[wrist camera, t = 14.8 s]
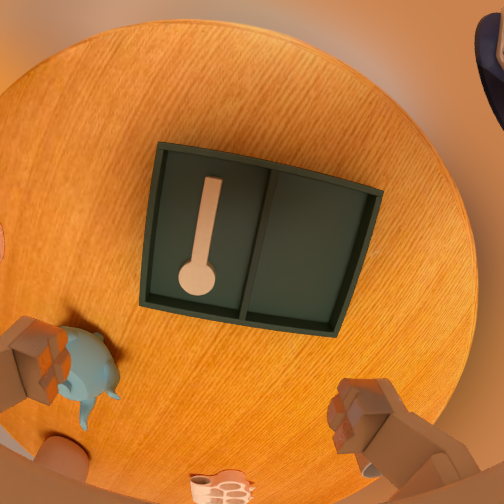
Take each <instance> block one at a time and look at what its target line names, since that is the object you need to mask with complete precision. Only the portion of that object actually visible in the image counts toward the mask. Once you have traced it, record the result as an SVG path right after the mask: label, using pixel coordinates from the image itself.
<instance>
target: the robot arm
mask: <svg viewBox="0 0 504 504" xmlns="http://www.w3.org/2000/svg"><path fill="white" fill-rule="evenodd" d="M496 58H497V60H498V62H499V64H500V66H501V67H502V69H503V71H504V8H501V17H500V27H499V36H498V43H497V50H496ZM68 342H69V341H68V335H67V332H66V331H65V330H64V329H62V328H59V327H56V326H53V325H51V324H48V323H45V322H43V321H40V320H37V319H34V318H31V317H29V316H22V317H21V318H20V319H19V320H18V321H17V322H15V323H14V324H13V325H12V326H11V327H10V328H9V329H8V330H7V331H6V332H5V333H4V334H3V335H2V336H1V337H0V413H1V412H3V411H5V410H7V409H9V408H10V407H12V406H14V405H16V404H17V403H19V402H21V401H23V400H25V399H26V398H27V397H28V398H31V399H33V400H36V401H38V402H41V403H43V404H46V405H48V406H50V405H51V403H52V402H53V400H54V398H55V397H56V395H57V394H58V392H59V390H58V386H57V385H59V384H61V383H64V382H65V381H66V379H67V377H68V375H69V372H70V368H71V355H70V352H69V351H68V350H67V348H66V347H65V346H66V344H67V343H68ZM337 389H338V392H339V394H337V395H336V396H335V397H333V398H332V399H331V401H330V404H329V406H328V411H327V421H328V424H329V427H330V428H331V429H332V430H334V431H335V434H334V436H333V437H332V438H333V441H334V444H335V447H336V451H337V454H347V453H362V454H363V455H364V456H365V457H366V458H367V459H368V460H369V461H370V462H371V463H372V464H373V465H374V466H375V467H376V468H377V469H378V470H379V471H380V472H381V473H382V474H383V475H384V476H385V477H386V478H387V479H388V480H389V481H390V482H391V483H392V484H394V485H395V486H396V487H397V488H398V489H399V490H398V491H397V492H395V493H394V494H393V495H392V496H391V497H390V498H389V500H388V501H387V502H385V503H380V504H504V461H503V462H501V463H499V464H497V465H495V466H493V467H491V468H488V469H486V470H484V471H482V472H481V471H480V469H479V467H478V466H477V464H476V462H475V461H474V459H473V457H472V456H471V454H470V453H469V451H468V449H467V448H466V446H465V445H464V444H462V443H461V442H459V441H457V440H455V439H454V438H452V437H451V436H449V435H448V434H446V433H444V432H443V431H441V430H440V429H438V428H437V427H435V426H433V425H432V424H430V423H429V422H427V421H426V420H424V419H422V418H421V417H419V416H418V415H416V414H415V413H413V412H408V411H407V409H406V407H405V405H404V404H403V402H402V400H401V399H400V397H399V395H398V394H397V392H396V390H395V389H394V387H393V385H392V383H391V382H390V381H389V380H388V379H386V378H380V379H349V378H344V379H343V380H342V381H341V382H340V383H339V385H338V387H337ZM0 504H160V503H155V502H150V501H146V500H142V499H137V498H133V497H130V496H126V495H122V494H119V493H115V492H112V491H108V490H105V489H102V488H99V487H96V486H93V485H90V484H87V483H84V482H82V481H79V480H76V479H73V478H71V477H68V476H66V475H63V474H61V473H59V472H56V471H54V470H52V469H49V468H47V467H45V466H43V465H40V464H38V463H36V462H34V461H32V460H30V459H28V458H26V457H24V456H22V455H20V454H18V453H16V452H14V451H12V450H11V449H9V448H7V447H5V446H4V445H2V444H0Z"/></svg>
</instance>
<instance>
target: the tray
mask: <svg viewBox="0 0 504 504" xmlns="http://www.w3.org/2000/svg"><path fill="white" fill-rule="evenodd" d="M207 176H214V177H219V178H223V183H222V188H221V193H220V198H219V203H218V208H217V213H216V218H215V224H214V229H213V235H212V240H211V246H210V251H209V257H208V261H209V262H210V263H211V264H212V265H213V267H214V269H215V272H216V279H215V284H214V286H213V288H212V289H211V290H210V291H209V292H208V293H206V294H204V295H192V294H189V293H188V292H186V291H185V290H184V289H183V288H182V287H181V285H180V283H179V272H180V270H181V268H182V266H183V264H184V263H185V262H186V261H187V260H189V259H191V258H192V251H193V245H194V239H195V233H196V227H197V221H198V215H199V210H200V204H201V198H202V193H203V188H204V182H205V177H207ZM383 193H384V191H382V190H379V189H376V188H373V187H369V186H366V185H362V184H359V183H356V182H352V181H348V180H345V179H341V178H338V177H334V176H330V175H326V174H322V173H319V172H315V171H311V170H307V169H302V168H298V167H294V166H290V165H285V164H281V163H277V162H272V161H268V160H263V159H258V158H253V157H248V156H243V155H238V154H233V153H228V152H222V151H217V150H211V149H205V148H199V147H193V146H187V145H180V144H173V143H166V142H158V145H157V150H156V156H155V162H154V168H153V174H152V180H151V187H150V194H149V201H148V209H147V217H146V225H145V234H144V244H143V254H142V266H141V279H140V295H139V306H142V307H147V308H151V309H156V310H161V311H165V312H170V313H175V314H180V315H186V316H191V317H196V318H201V319H207V320H213V321H218V322H224V323H230V324H236V325H242V326H249V327H255V328H262V329H269V330H276V331H283V332H291V333H298V334H306V335H315V336H324V337H333V338H337V336H338V333H339V331H340V328H341V325H342V323H343V320H344V318H345V315H346V312H347V309H348V307H349V304H350V301H351V298H352V295H353V293H354V290H355V287H356V284H357V281H358V278H359V275H360V272H361V269H362V266H363V263H364V260H365V256H366V253H367V250H368V247H369V243H370V240H371V237H372V233H373V230H374V226H375V223H376V219H377V216H378V212H379V208H380V204H381V201H382V197H383Z"/></svg>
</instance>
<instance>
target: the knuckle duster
mask: <svg viewBox="0 0 504 504" xmlns="http://www.w3.org/2000/svg"><path fill="white" fill-rule="evenodd" d="M190 484H191V492H192V497H193V501H194V502H196V503H198V504H247V503H248V502H249V501H250V499H252V498H254V497H253V496H251V491H252V490H254V489H256V487H253V486H250V483H249V481H247V480H246V475H245V474H244V473H243V472H240V471H237V470H225V471H221V472H219V473H218V474H217V475H214V476H206V475H201V476H200V475H198V476H193V477H191V478H190Z"/></svg>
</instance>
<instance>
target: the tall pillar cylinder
mask: <svg viewBox="0 0 504 504" xmlns="http://www.w3.org/2000/svg"><path fill="white" fill-rule="evenodd" d="M3 255H4V235H3V230H2V227H1V224H0V262H1V260H2V258H3Z"/></svg>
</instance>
